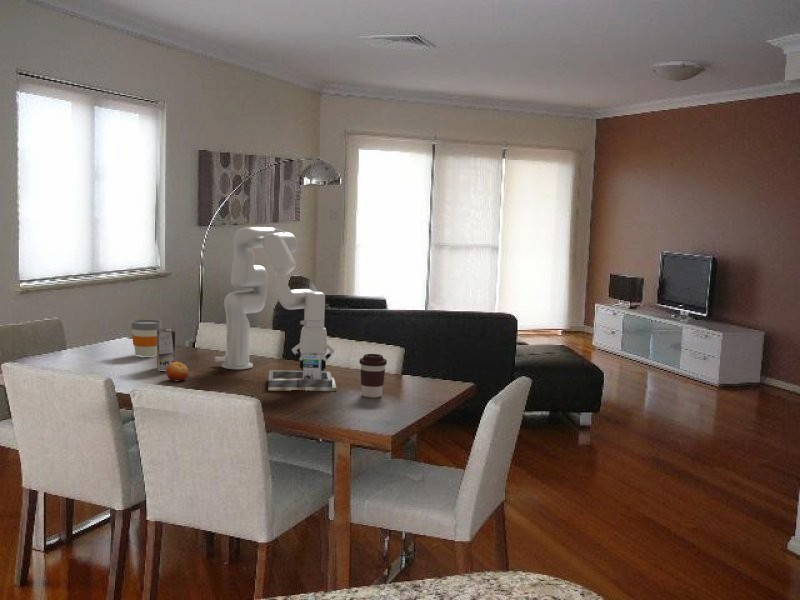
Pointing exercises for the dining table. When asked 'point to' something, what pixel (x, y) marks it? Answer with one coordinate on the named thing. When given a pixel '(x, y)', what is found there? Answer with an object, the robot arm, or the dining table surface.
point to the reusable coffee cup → (145, 336)
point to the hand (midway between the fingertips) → (312, 370)
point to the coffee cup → (372, 374)
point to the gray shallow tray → (299, 381)
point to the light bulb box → (312, 366)
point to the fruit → (177, 371)
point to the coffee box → (165, 348)
